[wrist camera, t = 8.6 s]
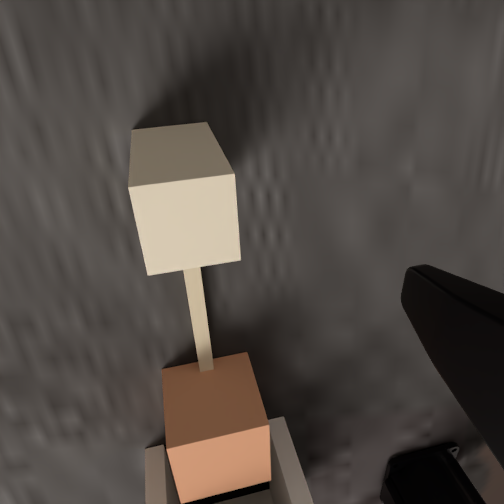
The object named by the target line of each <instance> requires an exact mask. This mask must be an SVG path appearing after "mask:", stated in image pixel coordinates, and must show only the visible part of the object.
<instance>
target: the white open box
mask: <svg viewBox="0 0 504 504" xmlns="http://www.w3.org/2000/svg"><path fill="white" fill-rule="evenodd" d="M268 422H269V430H270V458H271V481H269V484H270V489H267V490H264V491H260V492H256V493H252V494H249V495H245V496H241V497H237V498H233V499H230V500H226V501H222V502H218V503H214V504H314V503H313V500H312V497H311V494H310V492H309V489H308V486H307V483H306V480H305V477H304V474H303V471H302V468H301V465H300V462H299V459H298V457H297V454H296V451H295V448H294V445H293V442H292V439H291V436H290V433H289V430H288V427H287V424H286V422H285V419H284V416H283V417H279V418H274V419H270V420H268ZM145 499H146V504H180V503H179V499H178V496H177V492H176V488H175V484H174V481H173V477H172V473H171V470H170V466H169V462H168V459H167V455H166V451H165V448H164V445H159V446H155V447H151V448H147V449H145Z"/></svg>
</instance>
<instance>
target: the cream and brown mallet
mask: <svg viewBox="0 0 504 504" xmlns="http://www.w3.org/2000/svg"><path fill="white" fill-rule="evenodd" d="M128 188H129V193H130V197H131V202H132V206H133V211H134V215H135V220H136V224H137V229H138V233H139V238H140V242H141V247H142V251H143V256H144V260H145V265H146V269H147V274H148V275H154V274H161V273H167V272H173V271H179V270H183V271H184V277H185V283H186V289H187V295H188V302H189V308H190V314H191V320H192V326H193V332H194V338H195V344H196V350H197V357H198V362H195V363H190V364H185V365H180V366H175V367H170V368H165V369H162V382H163V399H164V417H165V434H166V450H167V453H168V457H169V461H170V465H171V468H172V472H173V476H174V480H175V483H176V487H177V491H178V495H179V498H180V502H181V504H183V503H187V502H191V501H194V500H198V499H202V498H206V497H210V496H214V495H217V494H221V493H225V492H229V491H233V490H237V489H240V488H244V487H248V486H252V485H256V484H260V483H263V482H267V481H271V458H270V430H269V422H268V419H267V415H266V412H265V409H264V406H263V402H262V399H261V396H260V392H259V389H258V386H257V382H256V379H255V376H254V373H253V369H252V366H251V363H250V359H249V356H248V353H247V352H244V353H239V354H234V355H229V356H224V357H219V358H214V359H213V357H212V350H211V343H210V335H209V328H208V321H207V313H206V306H205V299H204V291H203V284H202V277H201V269H200V267H203V266H209V265H215V264H221V263H227V262H233V261H239V260H241V256H240V242H239V228H238V214H237V199H236V185H235V173H234V172H233V170H232V168H231V166H230V164H229V162H228V160H227V159H226V157H225V155H224V153H223V151H222V149H221V147H220V146H219V144H218V142H217V140H216V138H215V136H214V134H213V133H212V131H211V129H210V127H209V125H208V123H207V122H201V123H192V124H182V125H173V126H163V127H154V128H144V129H135V130H132V137H131V153H130V168H129V183H128Z"/></svg>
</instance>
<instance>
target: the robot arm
mask: <svg viewBox="0 0 504 504" xmlns="http://www.w3.org/2000/svg"><path fill="white" fill-rule="evenodd" d="M401 303H402V306H403V308H404V310H405V312H406V314H407V316H408V318H409V320H410V322H411V324H412V325H413V327H414V329H415V331H416V333H417V335H418V337H419V339H420V341H421V343H422V344H423V346H424V348H425V350H426V352H427V354H428V356H429V357H430V359H431V361H432V363H433V364H434V366H435V368H436V369H437V371H438V372H439V374H440V375H441V377H442V378H443V380H444V381H445V383H446V384H447V386H448V387H449V389H450V390H451V392H452V393H453V395H454V396H455V398H456V399H457V401H458V402H459V404H460V405H461V407H462V408H463V410H464V411H465V413H466V414H467V416H468V417H469V419H470V420H471V422H472V423H473V425H474V426H475V428H476V429H477V431H478V432H479V434H480V435H481V437H482V438H483V440H484V441H485V443H486V444H487V446H488V447H489V449H490V450H491V451H492V453H493V455H494V456H495V457H496V459H497V461H498V462H499V464H500V465H501V467H502V468H503V469H504V294H503V293H500V292H498V291H495V290H493V289H490V288H487V287H485V286H482V285H480V284H477V283H474V282H472V281H469V280H467V279H464V278H461V277H459V276H456V275H453V274H451V273H448V272H446V271H443V270H440V269H438V268H435V267H433V266H430V265H426V264H423V265H418V266H412V267H409V268H408V269H407V271H406V273H405V278H404V283H403V288H402V293H401ZM458 451H459V446H458V445H457V444H456V443H455V442H454V443H450V444H446V445H442V446H438V447H434V448H431V449H427V450H423V451H419V452H416V453H412V454H408V455H404V456H401V457H397V458H393V459H391V460H390V461H389V462H388V465H387V469H386V473H385V477H384V482H383V486H382V490H381V495H380V499H381V501H382V503H384V504H486V503H485V501H484V500H483V498H482V497H481V495H480V494H479V492H478V491H477V489H476V488H475V487H474V485H473V484H472V482H471V481H470V479H469V478H468V476H467V475H466V473H465V472H464V470H463V469H462V468H461V466H460V465H459V463H458V462H457V460H456V456H457V454H458Z"/></svg>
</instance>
